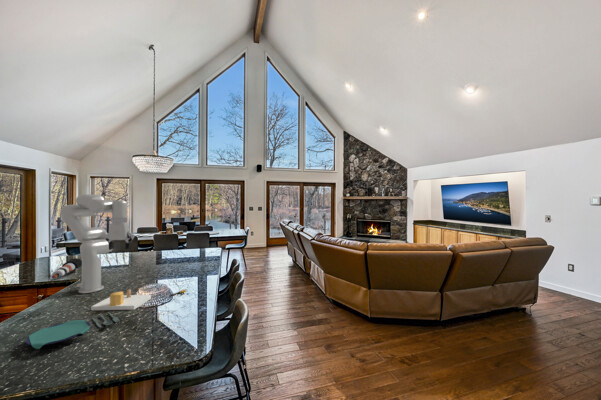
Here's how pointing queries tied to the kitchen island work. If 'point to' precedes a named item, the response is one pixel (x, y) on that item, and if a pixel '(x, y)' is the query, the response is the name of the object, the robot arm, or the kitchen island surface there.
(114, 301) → the acorn cap nut
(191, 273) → the kitchen island surface
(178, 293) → the composite cable
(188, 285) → the kitchen island surface
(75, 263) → the striped roll
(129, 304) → the plate
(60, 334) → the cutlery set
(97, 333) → the kitchen island surface
